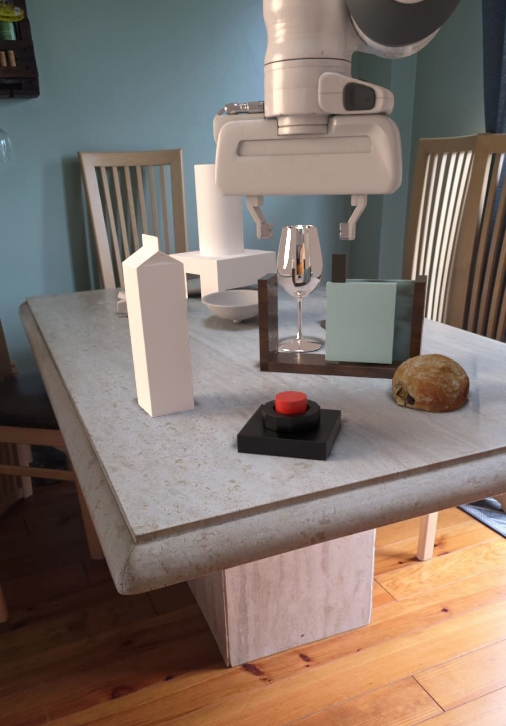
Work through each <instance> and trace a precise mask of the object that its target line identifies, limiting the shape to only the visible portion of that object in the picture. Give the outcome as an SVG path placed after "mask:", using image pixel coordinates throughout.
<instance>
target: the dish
mask: <svg viewBox="0 0 506 726" xmlns="http://www.w3.org/2000/svg"><path fill="white" fill-rule="evenodd" d="M200 301H201V303H203V305H205V306H206V307H207V308H208V310H210V312H212V314H214V315H215V316H216V317H218V318H221V319H223V320H227V321H229V320H230V321H233V323H242V322H243V320H248V319H251V318H253V317H256V316H258V290H256V289H255V290H254V289H228V290H225V291H220V292H215V293H211V294H208V295H206V296H204V297H203V298H202V297H201V300H200Z"/></svg>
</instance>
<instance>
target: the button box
mask: <svg viewBox="0 0 506 726" xmlns="http://www.w3.org/2000/svg"><path fill="white" fill-rule="evenodd" d="M341 428H342V409H333V408H332V409H331V408H321V405H319V403H318V402H317V401H314V400H311V399H308V398H307V411H305V412H303V413H298V414H282V413H279V412H276V411H275V399H273V400H270V401H267V402H265V404H261V405H260V406H259V407H258V408H257V409H256V410H255V412H254V413H253V414H252V416H251V417H250V418H249V419H248V420H247V422H246V423H245V424H244V425H243V427H242V428H241V429H240V431H238V433H237V434H236V445H237V446H236V447H237V453H238V454H250V455H259V456H269V457H279V458H280V457H281V458H290V459H299V460H300V459H301V460H310V461H311V460H312V461H321V462H326V461H327V460H328V458H329V455H330V453H331V450H332V448H333V446H334V443H335V442H336V439H337V436H338V434H339V432H340V430H341Z"/></svg>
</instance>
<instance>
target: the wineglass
mask: <svg viewBox="0 0 506 726" xmlns="http://www.w3.org/2000/svg"><path fill="white" fill-rule="evenodd" d="M278 244H279V245H278V251H277V256H276V273H277V284H278V285H279V286H280V288H281V289H282V290H283V292H285V293H286V294H287V295H289V296H291V297H293V298H295V301H296V306H297V335H296V336H295V338H294V339H290V340H285V341H282V342H280V343H278V349H280V351H281V350H282V351H283V352H289V353H309V352H314V351H317V350H319V349H320V348H322V343H321V342H319V341H316V340H312V339H306V338H305V337H304V336H303V302H304V299H305V297H308V296H310V295H311V294H313V293H314V292H315V290H317V289H318V288H319V286H320V285H321V284H322V283H321V282H322V280H323V275H324V263H323V262H324V261H323V254H322V248H321V242H320V237H319V231H318V228H317V225H312V224H311V225H310V224H297V225H286V226H285V225H284V226H282V231H281V235H280V240H279V243H278Z"/></svg>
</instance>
